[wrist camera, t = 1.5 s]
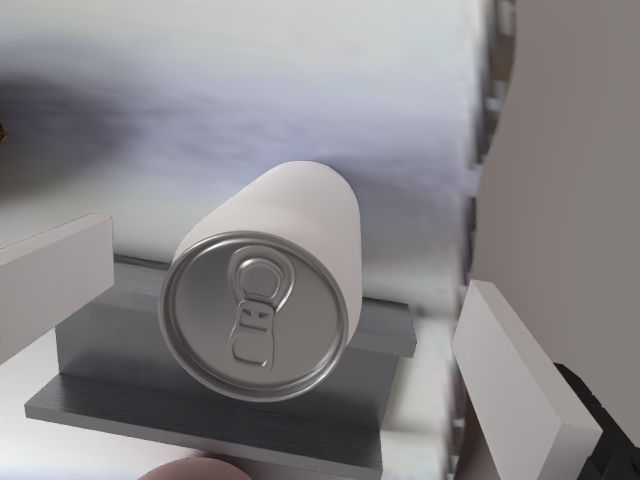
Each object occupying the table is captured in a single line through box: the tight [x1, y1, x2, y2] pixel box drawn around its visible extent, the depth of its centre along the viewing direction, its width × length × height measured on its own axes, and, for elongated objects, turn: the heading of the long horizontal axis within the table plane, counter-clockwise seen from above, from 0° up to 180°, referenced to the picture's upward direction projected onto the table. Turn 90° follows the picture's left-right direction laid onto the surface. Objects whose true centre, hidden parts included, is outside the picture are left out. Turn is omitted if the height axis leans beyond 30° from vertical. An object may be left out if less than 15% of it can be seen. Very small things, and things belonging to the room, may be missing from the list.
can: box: [158, 161, 362, 402], centre depth 17 cm, size 6×6×12 cm
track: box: [24, 254, 417, 480], centre depth 24 cm, size 22×10×4 cm, turn 82°
